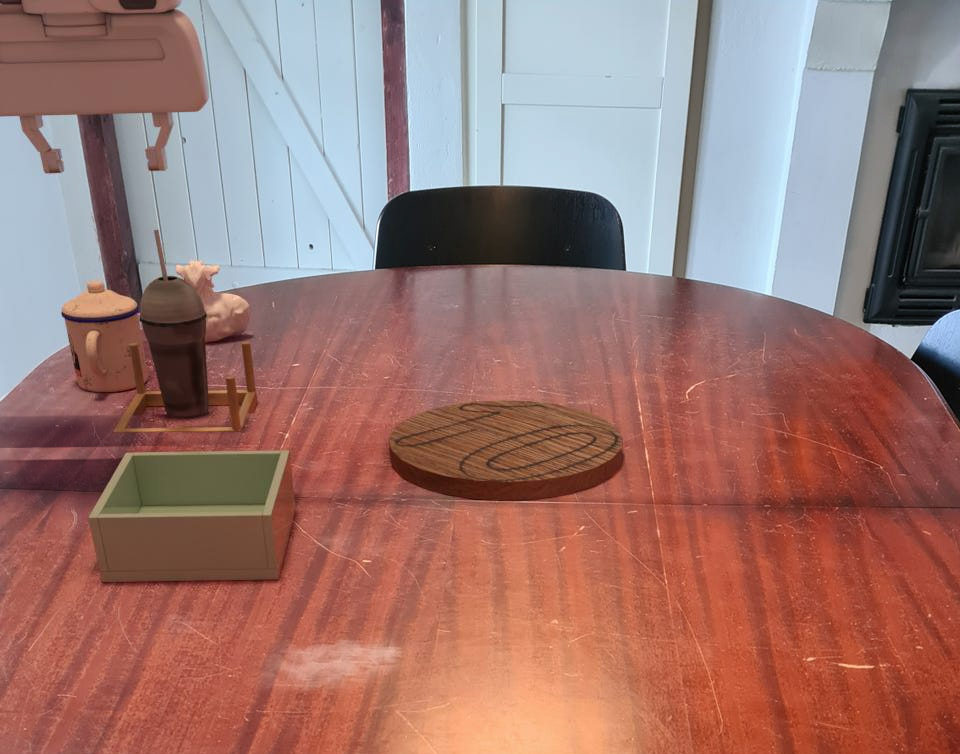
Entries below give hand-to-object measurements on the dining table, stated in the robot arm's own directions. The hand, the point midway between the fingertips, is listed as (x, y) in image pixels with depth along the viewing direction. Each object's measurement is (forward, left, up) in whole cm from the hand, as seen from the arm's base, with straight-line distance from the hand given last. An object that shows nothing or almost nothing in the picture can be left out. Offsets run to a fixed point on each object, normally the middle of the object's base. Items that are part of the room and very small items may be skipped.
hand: (106, 171), depth 112 cm
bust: (-2, +49, -28) cm, 57 cm away
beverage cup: (+1, +15, -28) cm, 32 cm away
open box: (+8, -19, -28) cm, 34 cm away
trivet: (+37, +3, -28) cm, 46 cm away
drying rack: (+1, +15, -28) cm, 32 cm away
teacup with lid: (-11, +29, -28) cm, 42 cm away
